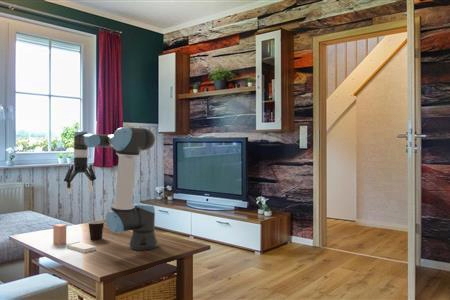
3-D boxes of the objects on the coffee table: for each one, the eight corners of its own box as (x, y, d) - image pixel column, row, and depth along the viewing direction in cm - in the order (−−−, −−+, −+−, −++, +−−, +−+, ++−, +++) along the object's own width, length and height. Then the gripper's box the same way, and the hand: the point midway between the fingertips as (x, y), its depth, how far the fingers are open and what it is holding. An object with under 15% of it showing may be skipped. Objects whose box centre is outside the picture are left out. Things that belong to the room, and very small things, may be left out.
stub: (66, 243, 206) (66, 225, 206) (59, 244, 202) (59, 226, 202) (59, 241, 209) (60, 223, 209) (53, 242, 206) (53, 224, 206)
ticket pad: (95, 250, 194) (95, 246, 194) (84, 253, 188) (84, 249, 188) (79, 245, 202) (79, 241, 202) (67, 248, 196) (67, 244, 196)
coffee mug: (98, 241, 211) (99, 224, 210) (85, 240, 212) (85, 223, 212) (109, 236, 222) (109, 220, 222) (96, 235, 224) (96, 219, 224)
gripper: (94, 156, 232) (94, 190, 232) (57, 157, 211) (57, 194, 211) (102, 156, 228) (102, 191, 228) (65, 157, 207) (65, 195, 207)
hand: (80, 192), depth 220 cm, fingers open, 13 cm apart
